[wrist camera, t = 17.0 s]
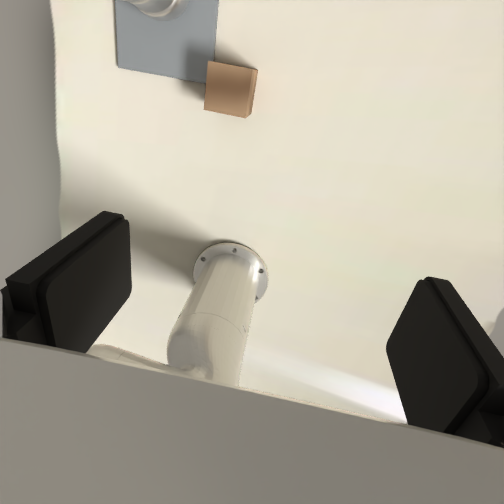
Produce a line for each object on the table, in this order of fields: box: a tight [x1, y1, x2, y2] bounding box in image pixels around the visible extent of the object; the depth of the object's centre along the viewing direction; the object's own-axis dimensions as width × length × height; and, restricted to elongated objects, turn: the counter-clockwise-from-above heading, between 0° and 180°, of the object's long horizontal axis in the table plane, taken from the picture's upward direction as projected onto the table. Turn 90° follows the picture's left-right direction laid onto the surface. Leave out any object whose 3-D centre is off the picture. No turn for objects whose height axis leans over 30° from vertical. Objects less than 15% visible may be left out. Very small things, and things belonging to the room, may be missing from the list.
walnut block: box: [204, 61, 258, 118], centre depth 39 cm, size 5×5×5 cm
